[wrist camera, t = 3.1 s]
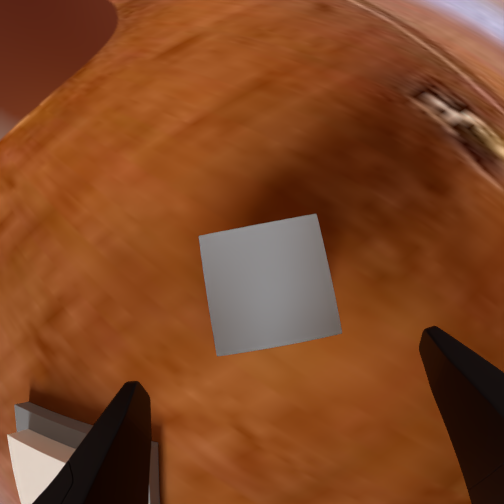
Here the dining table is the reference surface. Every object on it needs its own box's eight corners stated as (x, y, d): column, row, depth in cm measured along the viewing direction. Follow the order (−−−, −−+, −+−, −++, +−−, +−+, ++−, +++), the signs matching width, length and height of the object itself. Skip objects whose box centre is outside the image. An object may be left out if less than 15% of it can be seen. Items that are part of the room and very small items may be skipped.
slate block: (300, 263, 20) (316, 213, 11) (313, 330, 19) (342, 333, 10) (234, 276, 20) (198, 236, 11) (245, 343, 19) (216, 356, 10)
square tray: (161, 439, 18) (148, 451, 16) (166, 555, 16) (157, 571, 13) (33, 400, 20) (14, 404, 17) (49, 510, 17) (34, 519, 14)
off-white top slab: (127, 465, 16) (109, 479, 13) (137, 555, 14) (125, 571, 11) (28, 428, 17) (7, 434, 14) (44, 516, 15) (28, 526, 12)
